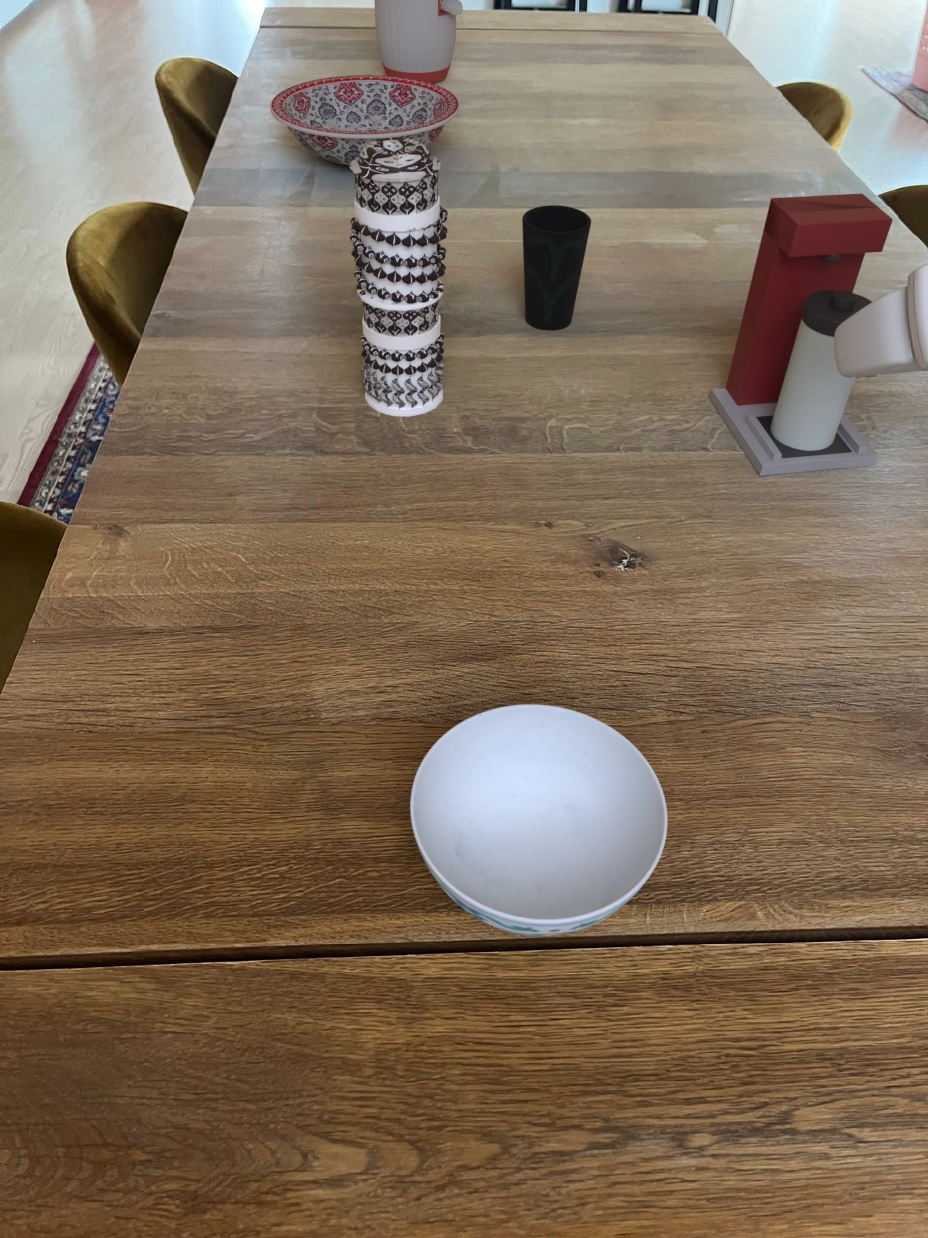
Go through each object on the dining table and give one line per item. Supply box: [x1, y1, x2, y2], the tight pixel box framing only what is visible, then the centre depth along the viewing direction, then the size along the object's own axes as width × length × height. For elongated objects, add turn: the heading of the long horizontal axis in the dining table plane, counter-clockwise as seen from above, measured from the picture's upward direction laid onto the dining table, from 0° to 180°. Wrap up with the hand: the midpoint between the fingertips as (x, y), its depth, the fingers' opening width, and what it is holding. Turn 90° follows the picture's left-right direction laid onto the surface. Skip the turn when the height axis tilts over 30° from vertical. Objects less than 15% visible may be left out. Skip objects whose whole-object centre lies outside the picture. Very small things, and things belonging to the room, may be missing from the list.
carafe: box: [771, 290, 873, 451], centre depth 89 cm, size 6×6×14 cm
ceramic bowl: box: [269, 74, 461, 166], centre depth 148 cm, size 29×29×8 cm
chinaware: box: [409, 703, 669, 937], centre depth 58 cm, size 15×15×8 cm
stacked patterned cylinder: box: [349, 138, 449, 418], centre depth 92 cm, size 9×9×25 cm
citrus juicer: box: [374, 0, 464, 84], centre depth 174 cm, size 16×17×20 cm
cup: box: [521, 205, 592, 331], centre depth 109 cm, size 8×8×12 cm
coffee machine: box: [709, 193, 894, 477], centre depth 89 cm, size 14×12×21 cm
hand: (917, 362), depth 75 cm, fingers open, 8 cm apart
